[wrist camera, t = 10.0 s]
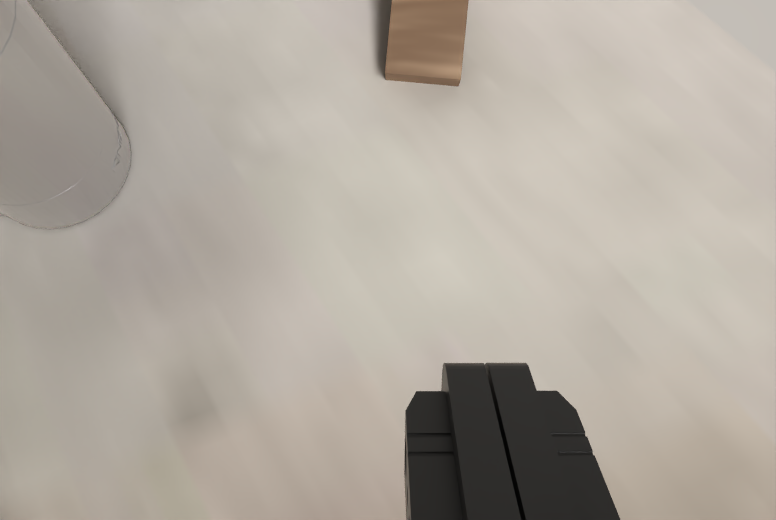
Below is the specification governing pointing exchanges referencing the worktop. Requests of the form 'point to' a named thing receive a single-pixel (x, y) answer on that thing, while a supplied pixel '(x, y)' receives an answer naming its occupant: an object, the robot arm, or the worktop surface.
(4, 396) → the worktop surface
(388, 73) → the domino
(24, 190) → the robot arm
